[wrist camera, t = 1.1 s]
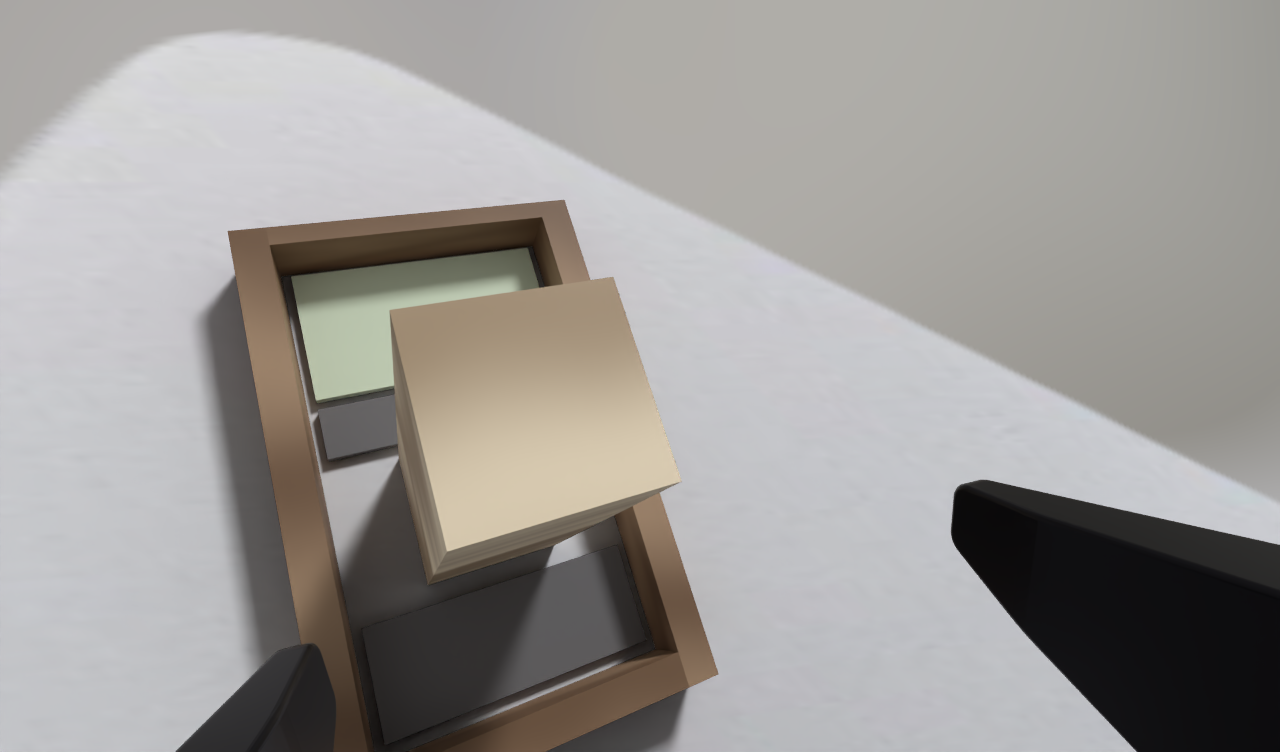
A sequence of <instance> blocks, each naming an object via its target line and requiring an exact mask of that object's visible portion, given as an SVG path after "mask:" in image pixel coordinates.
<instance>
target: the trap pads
mask: <svg viewBox="0 0 1280 752" xmlns="http://www.w3.org/2000/svg"><path fill="white" fill-rule="evenodd" d="M318 413H319V418H320V423H321V428H322V433H323V438H324V443H325V448H326V453H327V458H328V461H334V460H338V459H343V458H347V457H351V456H356V455H360V454H364V453H369V452H373V451H378V450H382V449H386V448H391V447H395V446H398V438H397V422H396V406H395V394H394V395H389V396H384V397H379V398H374V399H369V400H364V401H359V402H354V403H349V404H344V405H339V406H334V407H329V408H323V409H318ZM362 633H363V638H364V643H365V648H366V653H367V658H368V663H369V668H370V673H371V678H372V683H373V688H374V693H375V698H376V702H377V707H378V712H379V717H380V722H381V727H382V732H383V737H384V742H385V745H387V744H389V743H392V742H394V741H397V740H399V739H402V738H404V737H407V736H409V735H412V734H414V733H417V732H419V731H422V730H424V729H427V728H429V727H432V726H434V725H437V724H439V723H442V722H444V721H447V720H449V719H452V718H454V717H457V716H459V715H462V714H464V713H467V712H469V711H472V710H474V709H477V708H479V707H481V706H484V705H486V704H489V703H491V702H494V701H496V700H499V699H501V698H504V697H506V696H509V695H511V694H514V693H516V692H519V691H521V690H524V689H526V688H529V687H531V686H534V685H536V684H539V683H541V682H544V681H546V680H549V679H551V678H554V677H556V676H559V675H561V674H564V673H566V672H569V671H571V670H574V669H576V668H579V667H581V666H584V665H586V664H588V663H591V662H593V661H596V660H598V659H601V658H603V657H606V656H608V655H611V654H613V653H616V652H618V651H621V650H623V649H626V648H628V647H631V646H633V645H636V644H638V643H641V642H643V641H646V637H645V634H644V631H643V628H642V624H641V621H640V618H639V614H638V611H637V608H636V604H635V601H634V598H633V595H632V591H631V588H630V585H629V581H628V578H627V575H626V571H625V568H624V565H623V561H622V558H621V555H620V552H619V548H618V545H614V546H611V547H608V548H605V549H602V550H599V551H596V552H593V553H590V554H587V555H584V556H581V557H578V558H575V559H572V560H569V561H566V562H563V563H560V564H557V565H554V566H551V567H548V568H545V569H542V570H538V571H535V572H532V573H529V574H526V575H523V576H520V577H517V578H514V579H511V580H508V581H505V582H502V583H499V584H496V585H493V586H490V587H487V588H484V589H481V590H478V591H475V592H472V593H469V594H466V595H463V596H460V597H456V598H453V599H450V600H447V601H444V602H441V603H438V604H435V605H432V606H429V607H426V608H423V609H420V610H417V611H414V612H411V613H408V614H405V615H402V616H399V617H396V618H393V619H390V620H387V621H384V622H381V623H378V624H374V625H371V626H368V627H365V628H362Z"/></svg>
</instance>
